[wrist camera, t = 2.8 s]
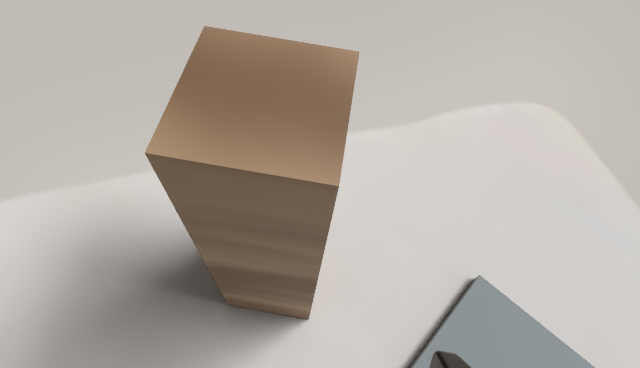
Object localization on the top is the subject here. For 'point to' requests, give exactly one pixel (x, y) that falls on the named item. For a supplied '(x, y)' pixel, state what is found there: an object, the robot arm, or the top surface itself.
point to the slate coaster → (497, 335)
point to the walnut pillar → (257, 161)
